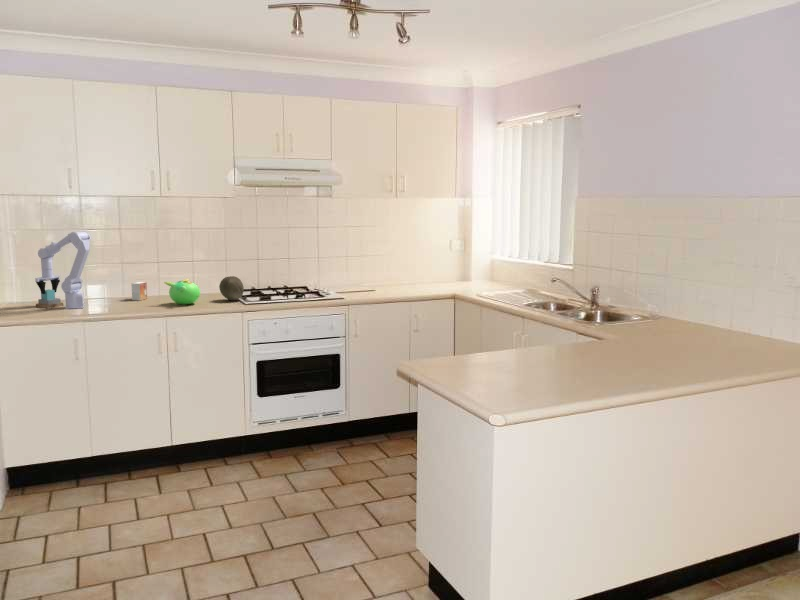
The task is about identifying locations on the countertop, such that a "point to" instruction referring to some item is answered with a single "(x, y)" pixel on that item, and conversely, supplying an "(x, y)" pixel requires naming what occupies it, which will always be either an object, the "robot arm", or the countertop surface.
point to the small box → (139, 291)
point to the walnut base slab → (49, 305)
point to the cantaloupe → (231, 288)
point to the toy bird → (183, 292)
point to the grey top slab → (49, 301)
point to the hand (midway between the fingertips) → (48, 293)
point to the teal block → (48, 295)
